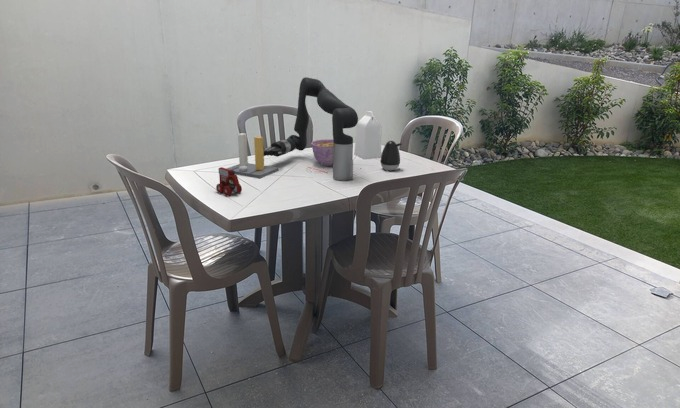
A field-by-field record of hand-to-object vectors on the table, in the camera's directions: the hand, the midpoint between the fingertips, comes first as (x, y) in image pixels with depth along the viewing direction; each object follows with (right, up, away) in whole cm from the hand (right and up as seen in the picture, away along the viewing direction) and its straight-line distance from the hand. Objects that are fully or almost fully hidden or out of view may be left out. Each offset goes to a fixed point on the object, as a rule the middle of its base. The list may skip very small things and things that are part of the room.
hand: (261, 154), depth 215 cm
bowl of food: (+34, -3, +20) cm, 39 cm away
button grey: (-9, -8, -1) cm, 12 cm away
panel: (-5, -8, +3) cm, 10 cm away
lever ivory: (-10, -4, +8) cm, 14 cm away
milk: (+55, +3, +40) cm, 68 cm away
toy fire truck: (-8, -20, -29) cm, 36 cm away
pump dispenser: (+65, -7, +12) cm, 67 cm away
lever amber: (-1, -7, +1) cm, 7 cm away
